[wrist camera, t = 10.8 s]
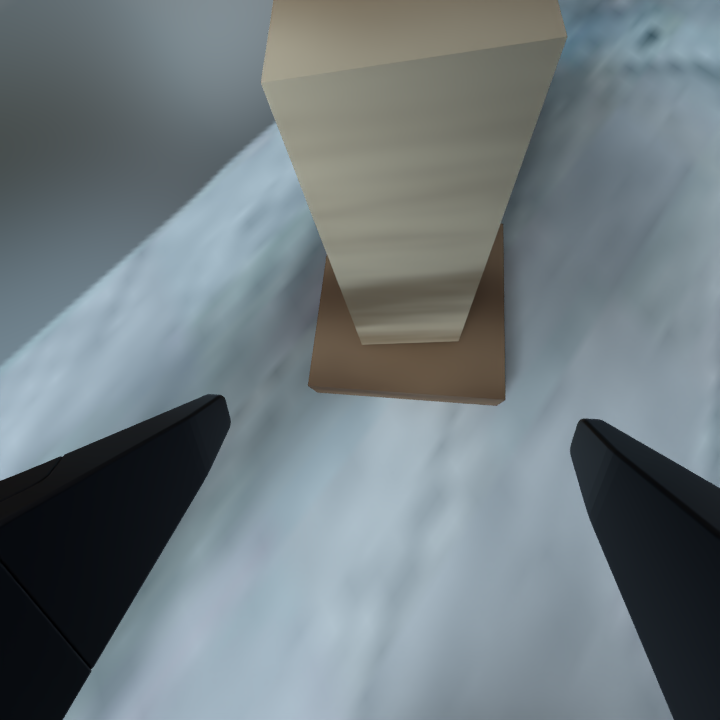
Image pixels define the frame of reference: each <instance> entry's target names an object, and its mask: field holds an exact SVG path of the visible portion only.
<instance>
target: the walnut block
mask: <svg viewBox="0 0 720 720" xmlns="http://www.w3.org/2000/svg"><path fill="white" fill-rule="evenodd" d="M308 386H309V387H310V388H312V389H313V390H315V391H316V392H319V393H332V394H346V395H359V396H372V397H386V398H399V399H413V400H426V401H439V402H453V403H466V404H480V405H493V406H497V405H498V404H500V403H501V402H503V401H504V400H505V333H504V252H503V224H500V227H499V229H498V232H497V235H496V238H495V241H494V243H493V246H492V249H491V252H490V255H489V257H488V260H487V263H486V266H485V269H484V271H483V274H482V277H481V280H480V283H479V285H478V288H477V291H476V294H475V297H474V299H473V302H472V305H471V308H470V311H469V313H468V316H467V319H466V322H465V325H464V327H463V330H462V333H461V336H460V339H459V341H451V342H423V343H395V344H368V345H362V343H361V341H360V338H359V336H358V333H357V330H356V328H355V325H354V323H353V320H352V318H351V315H350V312H349V310H348V307H347V305H346V302H345V299H344V297H343V294H342V292H341V289H340V286H339V284H338V281H337V279H336V276H335V273H334V271H333V268H332V266H331V263H330V261H329V258H328V255H327V256H326V263H325V270H324V277H323V284H322V291H321V298H320V305H319V312H318V319H317V326H316V333H315V340H314V347H313V354H312V361H311V368H310V375H309V382H308Z"/></svg>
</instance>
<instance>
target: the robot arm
mask: <svg viewBox="0 0 720 720" xmlns="http://www.w3.org/2000/svg"><path fill="white" fill-rule="evenodd" d="M230 423H231V420H230V415H229V411H228V408H227V404H226V400H225V398H224V397H223V396H222V395H215V394H207V395H205V396H202V397H200V398H198V399H195V400H193V401H191V402H188V403H186V404H183V405H181V406H179V407H176V408H174V409H172V410H169V411H167V412H164V413H162V414H160V415H157V416H155V417H153V418H150V419H148V420H146V421H143V422H141V423H138V424H136V425H134V426H131V427H129V428H127V429H124V430H122V431H119V432H117V433H115V434H112V435H110V436H108V437H105V438H103V439H100V440H98V441H96V442H93V443H91V444H89V445H86V446H84V447H82V448H79V449H77V450H74V451H72V452H70V453H67V454H65V455H64V456H63V457H58V458H55V459H53V460H51V461H48V462H46V463H43V464H41V465H39V466H36V467H34V468H31V469H29V470H26V471H24V472H22V473H19V474H17V475H14V476H12V477H9V478H7V479H4V480H1V481H0V720H63V718H64V717H65V715H66V713H67V712H68V710H69V708H70V707H71V705H72V703H73V701H74V700H75V698H76V696H77V695H78V693H79V691H80V690H81V688H82V686H83V685H84V683H85V681H86V680H87V678H88V676H89V675H90V673H91V669H92V668H93V667H94V666H95V664H96V662H97V661H98V659H99V657H100V656H101V654H102V652H103V651H104V649H105V647H106V645H107V644H108V642H109V640H110V639H111V637H112V635H113V634H114V632H115V630H116V629H117V627H118V625H119V624H120V622H121V620H122V619H123V617H124V615H125V613H126V612H127V610H128V608H129V607H130V605H131V603H132V602H133V600H134V598H135V597H136V595H137V593H138V592H139V590H140V588H141V587H142V585H143V583H144V581H145V580H146V578H147V576H148V575H149V573H150V571H151V570H152V568H153V566H154V565H155V563H156V561H157V560H158V558H159V556H160V555H161V553H162V551H163V549H164V548H165V546H166V544H167V543H168V541H169V539H170V538H171V536H172V534H173V533H174V531H175V529H176V528H177V526H178V524H179V523H180V521H181V519H182V517H183V516H184V514H185V512H186V511H187V509H188V507H189V506H190V504H191V502H192V501H193V499H194V497H195V496H196V494H197V492H198V491H199V489H200V487H201V485H202V484H203V482H204V480H205V478H206V477H207V475H208V473H209V471H210V469H211V467H212V465H213V463H214V460H215V458H216V456H217V454H218V452H219V450H220V447H221V445H222V443H223V441H224V439H225V437H226V435H227V432H228V430H229V428H230ZM570 454H571V458H572V462H573V465H574V469H575V472H576V475H577V479H578V482H579V486H580V489H581V493H582V496H583V499H584V503H585V506H586V509H587V513H588V516H589V518H590V521H591V523H592V526H593V528H594V531H595V533H596V536H597V538H598V540H599V543H600V545H601V547H602V550H603V552H604V555H605V557H606V559H607V562H608V564H609V567H610V569H611V571H612V574H613V576H614V578H615V581H616V583H617V586H618V588H619V590H620V593H621V595H622V597H623V600H624V602H625V605H626V607H627V609H628V612H629V614H630V616H631V619H632V621H633V624H634V626H635V628H636V631H637V633H638V635H639V638H640V640H641V643H642V645H643V647H644V650H645V652H646V654H647V657H648V659H649V662H650V664H651V666H652V669H653V671H654V674H655V676H656V678H657V681H658V683H659V685H660V688H661V690H662V693H663V695H664V697H665V700H666V702H667V704H668V707H669V709H670V712H671V714H672V716H673V719H674V720H720V488H719V487H717V486H715V485H713V484H712V483H710V482H708V481H707V480H705V479H703V478H701V477H700V476H698V475H696V474H694V473H693V472H691V471H689V470H687V469H686V468H684V467H682V466H681V465H679V464H677V463H675V462H674V461H672V460H670V459H668V458H667V457H665V456H663V455H662V454H660V453H658V452H656V451H655V450H653V449H651V448H649V447H648V446H646V445H644V444H642V443H641V442H639V441H637V440H636V439H634V438H632V437H630V436H629V435H627V434H625V433H623V432H622V431H620V430H618V429H616V428H615V427H613V426H611V425H610V424H608V423H606V422H604V421H603V420H599V419H581V420H580V421H579V422H578V424H577V427H576V430H575V433H574V437H573V440H572V443H571V447H570Z"/></svg>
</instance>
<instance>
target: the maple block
mask: <svg viewBox="0 0 720 720" xmlns="http://www.w3.org/2000/svg"><path fill="white" fill-rule="evenodd" d="M566 39H567V34H566V30H565V26H564V22H563V19H562V15H561V11H560V7H559V4H558V0H273V7H272V14H271V21H270V27H269V33H268V40H267V47H266V54H265V60H264V66H263V73H262V80H261V84H262V87H263V89H264V92H265V95H266V97H267V100H268V102H269V105H270V107H271V110H272V113H273V115H274V118H275V121H276V123H277V126H278V128H279V131H280V134H281V136H282V139H283V141H284V144H285V147H286V149H287V152H288V154H289V157H290V159H291V162H292V165H293V167H294V170H295V172H296V175H297V178H298V180H299V183H300V185H301V188H302V191H303V193H304V196H305V198H306V201H307V204H308V206H309V209H310V211H311V214H312V216H313V219H314V222H315V224H316V227H317V229H318V232H319V235H320V237H321V240H322V242H323V245H324V248H325V250H326V253H327V255H328V258H329V261H330V263H331V266H332V268H333V271H334V273H335V276H336V279H337V281H338V284H339V286H340V289H341V292H342V294H343V297H344V299H345V302H346V305H347V307H348V310H349V312H350V315H351V318H352V320H353V323H354V325H355V328H356V330H357V333H358V336H359V338H360V341H361V343H362V345H368V344H395V343H423V342H451V341H459V339H460V336H461V333H462V330H463V327H464V325H465V322H466V319H467V316H468V313H469V311H470V308H471V305H472V302H473V299H474V297H475V294H476V291H477V288H478V285H479V283H480V280H481V277H482V274H483V271H484V269H485V266H486V263H487V260H488V257H489V255H490V252H491V249H492V246H493V243H494V241H495V238H496V235H497V232H498V229H499V227H500V224H501V221H502V218H503V215H504V213H505V210H506V207H507V204H508V201H509V199H510V196H511V193H512V190H513V187H514V185H515V182H516V179H517V176H518V173H519V171H520V168H521V165H522V162H523V159H524V157H525V154H526V151H527V148H528V145H529V143H530V140H531V137H532V134H533V131H534V129H535V126H536V123H537V120H538V117H539V115H540V112H541V109H542V106H543V103H544V101H545V98H546V95H547V92H548V89H549V87H550V84H551V81H552V78H553V75H554V73H555V70H556V67H557V64H558V61H559V59H560V56H561V53H562V50H563V47H564V45H565V42H566Z"/></svg>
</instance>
